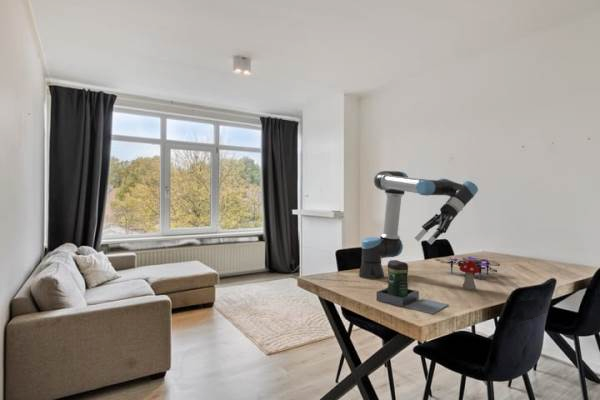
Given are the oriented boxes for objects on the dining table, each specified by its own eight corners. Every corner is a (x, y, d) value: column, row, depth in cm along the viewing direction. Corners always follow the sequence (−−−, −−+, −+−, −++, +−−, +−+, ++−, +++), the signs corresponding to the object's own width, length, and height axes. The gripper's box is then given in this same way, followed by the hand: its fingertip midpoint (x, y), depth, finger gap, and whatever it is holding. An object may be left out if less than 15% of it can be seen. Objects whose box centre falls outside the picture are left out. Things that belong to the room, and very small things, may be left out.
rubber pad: (406, 307, 145) (406, 306, 145) (422, 299, 156) (422, 298, 156) (433, 314, 136) (433, 313, 136) (448, 305, 148) (448, 304, 148)
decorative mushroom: (455, 287, 177) (455, 259, 177) (467, 285, 180) (467, 258, 180) (471, 292, 168) (471, 262, 168) (483, 290, 171) (483, 261, 171)
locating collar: (376, 300, 155) (376, 291, 155) (393, 293, 166) (393, 285, 166) (402, 307, 145) (402, 298, 145) (418, 299, 156) (418, 291, 156)
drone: (431, 256, 215) (458, 252, 229) (431, 271, 215) (458, 266, 229) (493, 267, 181) (520, 262, 195) (493, 285, 181) (520, 278, 195)
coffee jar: (411, 302, 152) (411, 262, 152) (396, 304, 150) (396, 263, 150) (398, 296, 161) (398, 258, 161) (384, 297, 159) (384, 259, 159)
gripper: (472, 214, 146) (440, 249, 144) (444, 213, 171) (416, 243, 169) (460, 202, 145) (428, 238, 144) (433, 203, 170) (406, 233, 169)
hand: (422, 241), depth 157 cm, fingers open, 13 cm apart
